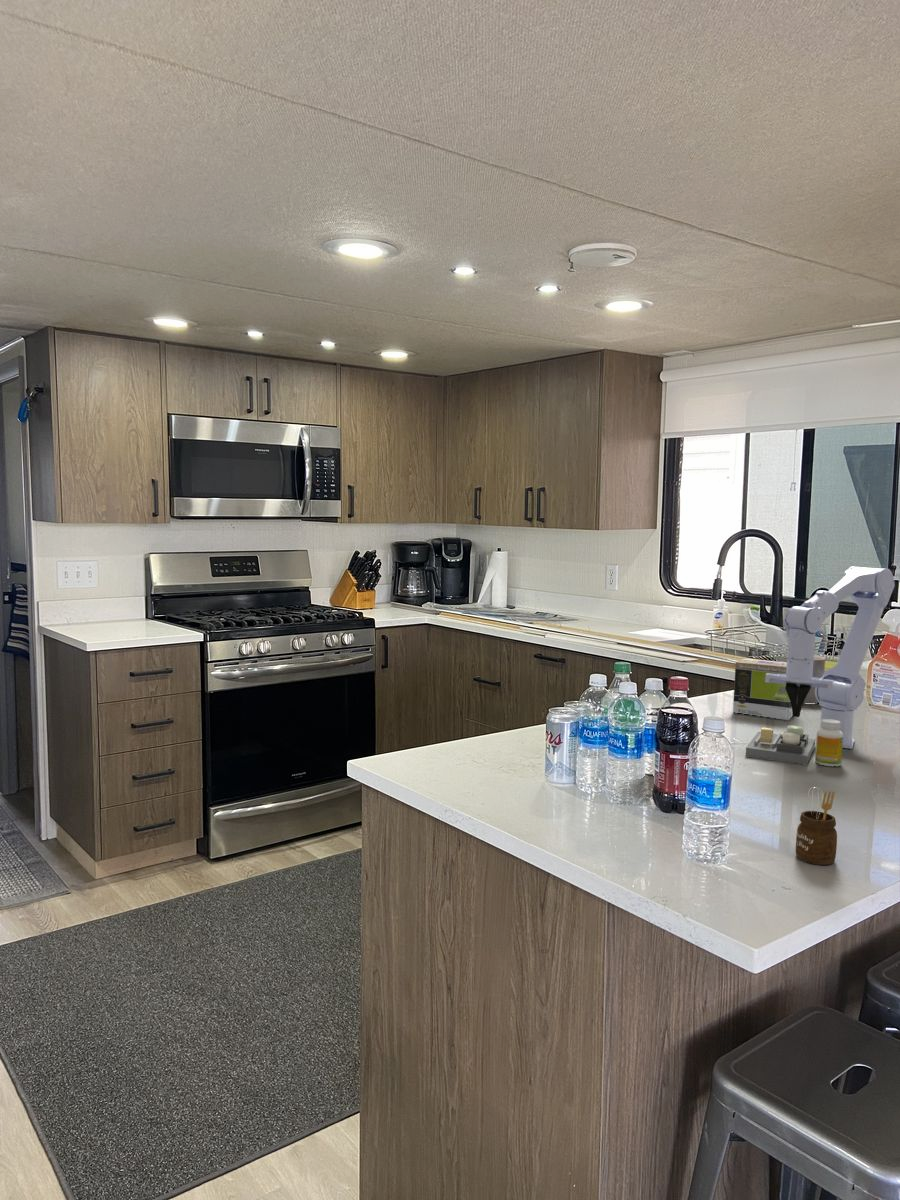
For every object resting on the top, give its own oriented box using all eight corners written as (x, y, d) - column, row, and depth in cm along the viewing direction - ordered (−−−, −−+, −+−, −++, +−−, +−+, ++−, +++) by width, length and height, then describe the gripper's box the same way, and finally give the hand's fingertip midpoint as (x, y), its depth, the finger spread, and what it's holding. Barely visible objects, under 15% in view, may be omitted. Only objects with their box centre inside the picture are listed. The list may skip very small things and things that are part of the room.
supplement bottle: (843, 768, 195) (846, 724, 194) (817, 765, 196) (819, 722, 196) (838, 761, 200) (841, 719, 200) (813, 759, 202) (815, 717, 201)
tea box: (796, 715, 248) (799, 662, 247) (788, 721, 240) (792, 667, 239) (741, 707, 256) (744, 656, 255) (731, 713, 248) (735, 660, 247)
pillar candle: (784, 697, 274) (787, 648, 272) (817, 698, 273) (821, 650, 271) (791, 704, 265) (795, 654, 263) (826, 705, 263) (830, 655, 262)
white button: (783, 741, 204) (784, 731, 204) (800, 743, 203) (800, 733, 202) (781, 744, 201) (781, 734, 201) (798, 746, 199) (799, 737, 199)
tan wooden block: (761, 740, 207) (762, 727, 207) (772, 741, 206) (773, 728, 206) (760, 741, 206) (761, 729, 205) (771, 743, 205) (772, 730, 204)
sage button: (787, 734, 211) (788, 724, 211) (803, 736, 210) (804, 727, 209) (785, 737, 208) (786, 727, 208) (802, 739, 206) (802, 730, 206)
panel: (757, 739, 219) (758, 725, 218) (814, 747, 213) (815, 732, 212) (745, 756, 203) (746, 740, 202) (806, 765, 197) (808, 749, 196)
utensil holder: (824, 852, 144) (830, 779, 143) (843, 867, 138) (848, 791, 137) (788, 851, 144) (793, 778, 143) (805, 866, 138) (811, 790, 137)
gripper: (765, 657, 207) (761, 715, 208) (832, 664, 200) (828, 723, 202) (769, 653, 213) (765, 709, 214) (835, 659, 206) (830, 717, 208)
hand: (796, 716), depth 208 cm, fingers closed
